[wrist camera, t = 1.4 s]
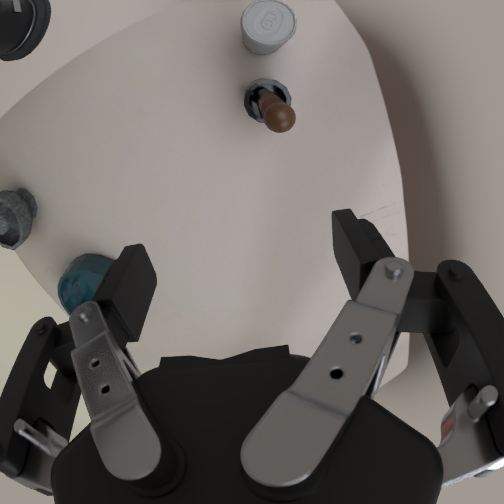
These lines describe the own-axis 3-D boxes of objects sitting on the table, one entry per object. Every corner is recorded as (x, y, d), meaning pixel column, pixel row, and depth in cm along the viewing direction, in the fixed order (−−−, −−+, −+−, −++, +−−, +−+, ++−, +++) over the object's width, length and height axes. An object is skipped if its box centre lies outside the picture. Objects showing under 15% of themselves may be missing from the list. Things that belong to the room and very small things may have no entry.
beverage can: (235, 45, 30) (230, 32, 20) (253, 14, 27) (255, -11, 17) (271, 61, 31) (282, 55, 21) (289, 30, 29) (307, 12, 19)
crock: (243, 111, 35) (242, 121, 28) (246, 77, 32) (246, 77, 26) (280, 115, 35) (288, 125, 28) (283, 80, 32) (293, 82, 26)
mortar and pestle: (25, 236, 44) (-10, 275, 34) (0, 196, 39) (-40, 230, 29) (58, 210, 41) (19, 251, 31) (30, 165, 37) (-17, 197, 27)
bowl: (80, 311, 54) (71, 328, 50) (60, 250, 46) (47, 266, 42) (147, 320, 55) (141, 339, 51) (134, 255, 47) (125, 274, 42)
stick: (254, 103, 34) (262, 134, 17) (256, 87, 33) (266, 102, 16) (271, 104, 34) (295, 137, 17) (272, 89, 33) (299, 106, 16)
